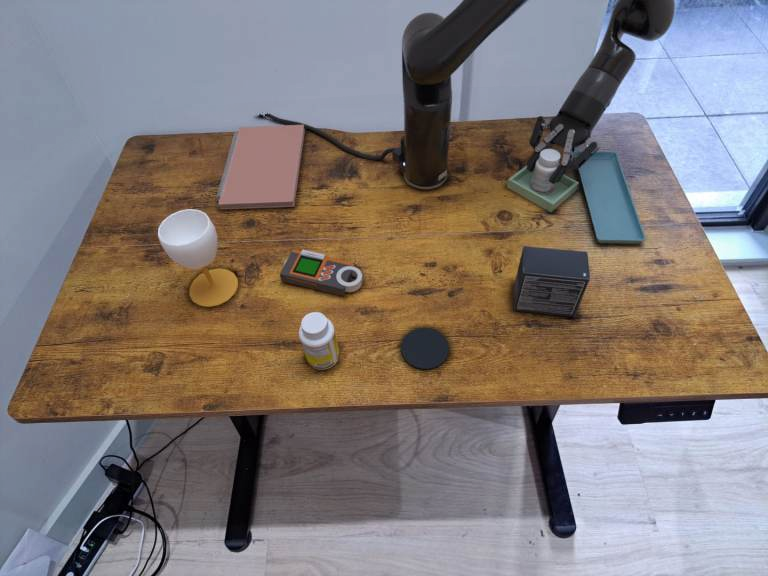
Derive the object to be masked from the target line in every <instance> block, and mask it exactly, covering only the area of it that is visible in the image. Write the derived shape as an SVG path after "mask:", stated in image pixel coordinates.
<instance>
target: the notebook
mask: <svg viewBox="0 0 768 576" xmlns="http://www.w3.org/2000/svg"><path fill="white" fill-rule="evenodd" d="M305 132H306V128H304V125H290V124H286V125H264V126H263V125H261V126H260V125H259V126H239V127H238V130H237V132H235V133H233V137H232V139H231V144H230V146H229V147H230V148H229V151H228V155H227V158H226V161H225V165H224V169H223V172H222V175H221V179H220V182H219V187H218V189H217V194H216V196H215V197H216V198H215V199H216V201H217V202H218V204H217V205H218V206H219V210H222V211H223V210H244V209H245V210H247V209H273V208H294V207H295V206H296V205H295V204H296V198H297V190H298V184H299V177H300V176H299V175H300V168H301V162H302V155H303V148H304V140H305V134H306V133H305Z"/></svg>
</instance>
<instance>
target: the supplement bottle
mask: <svg viewBox="0 0 768 576" xmlns="http://www.w3.org/2000/svg"><path fill="white" fill-rule="evenodd" d="M298 337H299V341H300V343H301V347H302V349H303V352H304V356H305V359H306V361H307V363H308V365H309V366H310V367H312V368H313V369H316V370H318V371H319V370H321V371H322V370H323V371H324V370H328V369H330V368H333V366H334V365H336V364H337V362H338V361H339V358H340V348H339V343H338V338H337V335H336V330H335V327H334V323H333V322H332V321H331V320H330V319H329V318H328V317H326V316H325V314H323V313H322V312H318V311H312V312H309V313H307V314H305V315H304V316H303V318H302V320H301V322H300V326H299V328H298Z"/></svg>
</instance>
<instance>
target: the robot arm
mask: <svg viewBox="0 0 768 576" xmlns="http://www.w3.org/2000/svg"><path fill="white" fill-rule="evenodd" d="M529 1H530V0H461V2H460V3H459V4H458V5H457V6H456V7H455V8H454V9H453V10H452V11H451V12H450V13H449V14H448V15H447V16H446V17H443V16H442V15H440V14H438V13H436V12H424V13H420V14H418V15H415V16H414V18H412V19H411V20H410V21H409V22H408V24H407V26H406V27H405V28H404V31H403V34H402V38H401V74H402V75H401V76H402V80H401V81H402V82H401V83H402V96H403V135H402V136H401V137H400V145H399V146H398V147H390V148H387V149H385V150H384V151H383V152H382V153H381V155H375V156H374V155H368V154H365V153H362V152H361V151H357V150H355V149H353V148H351V147H348V146H346V145H345V144H343V143H341V142H340V141H338V140H337V139H336V138H334V137H332V136H331V135H329V134H327V133H325V132H324V131H322V130H320V129H318V128H316V127H314V126H312V125H309V124H306V123H302V122H300V121H299V122H298V121H294V120H288V119H285V118H280V117H277V116H276V115H273V114H271V113H269V112H266V113H267V114H265V116H263V115H261V113H260V114H259V115H258V116H257V117H258V118H259V119H262V118H263V117H266V118H269V119H271V120H273V121H274V122H277V123H280V124H286V125H304V129H305V130H306V129H307V130H309V131H311V132H313V133H315V134H318V135H319V136H321V137H323V138H324V139H326V140H328V141H329V142H331V143H332V144H334V145H336V146H337V147H338V148H339V149H341V150H343V151H345V152H346V153H348V154H349V153H350V154H352V155H354V156H357V157H360V158H362V159H364V160H370V161H381V160H384V159H385V158H386V156H387V155H388V154H392V160H393V161H394V162H395V163H397V164H399V165H400V170H401V171H400V172H401V173H400V174H401V175H402V176H403V178H404V182H405V183H406V184H407V185H408V186H409V187H411V188H413V189H415V190H419V191H433V190H436V189H439V188H441V187H442V186H443V185H444V184H445V183H446V182H447V180H448V163H449V149H450V138H451V137H450V134H451V122H452V120H451V119H452V108H453V107H452V106H453V87H452V85H453V84H452V75H453V74H454V73H455V72H456V71H457V70H458V69H459V68H460V67H461V66H462V65H463V64H464V63H465V61H466V60H468V58H469V57H471V55H472V54H473V53H474V52H475V51H476V50H477V49H478V48H479V46H481V45H482V44H483V43H484V41H485V40H486V39H487V38H489V37H490V36H491V34H493V33H494V32H495V31H496V30H497V29H498V28H499V27H500V26H502V25H503V24H504V23H505V22H506V21H508V20H509V19H510V18H511V17H512V16H513V15H514V14H515V13H517V11H519V10H520V9H521V8H522V7H523V6H524V5H525V4H527V3H528V2H529ZM611 11H612V12H611V15H610V19H609V21H608V25H607V28H606V31H605V33H604V36H603V38H602V41H601V43H600V45H599V48H598V50H597V52H595V55H594V56H593V58H592V60H591V61H590V63H589V64H588V66H587V68H586V69H585V70H584V72H583V73H582V74H581V75H580V76H579V78H578V80H577V81H576V83H575V84H574V86H573V87H572V89H571V91H570V93H568V96H567V97H566V99H565V100H564V102H563V104H562V105H561V107H560V108H559V110H558V113H557V114H556V115H555V116H554V117H552V118H551V119H550V118H544V116H542V115H540V116H537V118H536V122H535V125H534V127H533V130H532V133H531V136H530V138H529V142H528V143H529V146H531V148H532V149H533V152H532V154H531V156H529V158H528V160H527V162H526V165H525V166H528V167H527V170H528V171H530V172H533V170H534V168H535V164H536V161H537V160H538V159H539V156H540V153H541V151H543V150H545V149H553V147H554V146H559V147H562V148H563V155H562V159H561V163H559V165H558V166H557V168H556V170H555V171H554V173H553V174H552V176H551V177H550V179H549V182H551V183H552V184H555V182H557V183H558V182H559V181H560V180H561V178H562V176H563V175H565V173H566V172H567V170H568V169H569V170H570V169H572V170H578V169H579V168H580V167H581V166H582V165H583V164H584V163H585V162H586V161H587V160H588V159H589V158H590V157H592V156H593V155H594V154H595V153H596V152H597V151H600V146H599V144H598V142H597V141H594V140H593V139H592V138H591V134H592V131H593V130H594V128H595V127H596V125H598V122H599V121H600V119H601V118H602V116H603V115H604V113H605V112H606V110H607V109H608V108H609V106H610V105H611V103H612V100H613V99H614V97H615V96H616V94H617V92H618V89H619V88H620V86H621V84H622V82H623V81H624V79H625V78H626V76H627V75H628V74H629V72H630V70H631V69H632V67H633V65H634V63H635V61H636V59H637V57H636V53H635V51H634V50H633V49H632V48H631V47H630V46H628V45H627V44H625V43H624V42H623V41H622V38H623V35H624V34H626V35H628V36H631V37H634V38H637V39H640V40H642V41H646V42H654V41H657V40H659V39H660V38H662V37H664V35H665V34H666V33H667V32H668V31H669V29H670V28H671V25H672V23H673V21H674V17H675V11H676V3H675V0H617V1H616V2H615V5H614V6H613V9H612V10H611ZM268 113H269V114H268ZM548 127H549V133H548V134H547V135H546V136H545V137H544V138H543V139H542V136H543V133H544V132H545V131H546V130H547V129H548ZM541 139H542V141H541ZM584 144H585V145H584ZM582 145H584V146H583V148H584V149H583V152H581V153H580V154H579V155H578V156H577V157H576V158H575V155H574V153H575V152H576V149H577V148H578V147H580V146H582ZM573 158H574V159H573Z"/></svg>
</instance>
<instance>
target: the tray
mask: <svg viewBox="0 0 768 576" xmlns="http://www.w3.org/2000/svg"><path fill="white" fill-rule="evenodd" d="M527 167H528V166H526V165H525V166H523V167H522V168H521V169H520V170H518V171H517V172H515V174H513V175H512V176H511V177H509V178H508V179H507V183H506V188H507V189H509V190H511V191H512V192H514V193H516V194H517V195H519V196H521V197H523V198H525V199H526V200H528V201H530V202H531V203H533V204H535V205H537V206H539V207H541V208H542V209H544V210H546V211H547V212H549V213H552V212H553V211H554V210H556V209H557V208H558V207H559V206H560V205H561V204H563V203H564V202H565V201H566V200H567V199H569V198H570V197H571V196H572V195H573V194H574V193H575V192H577V190H578V187H579V184H580V182H579V181H577V180H575V179H573V178H572V177H569V176H568V175H565V174H564V175H563V176H562V178H561V180H560V181H559V182H558V183H557V182H555V185H554V188H553V190H552V191H551V192H550V193H548V194H539V193H536V192H534V191H533V190H532V189H531V181H532V177H533V173H534V170H533V172H530V171H528V170H527Z"/></svg>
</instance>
